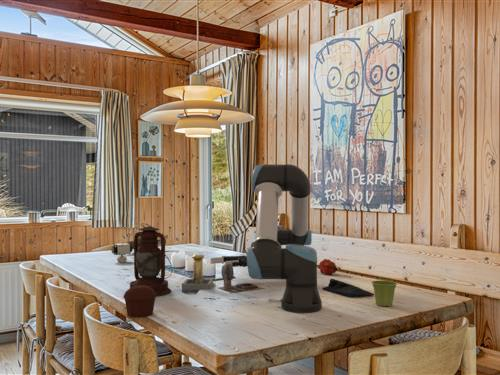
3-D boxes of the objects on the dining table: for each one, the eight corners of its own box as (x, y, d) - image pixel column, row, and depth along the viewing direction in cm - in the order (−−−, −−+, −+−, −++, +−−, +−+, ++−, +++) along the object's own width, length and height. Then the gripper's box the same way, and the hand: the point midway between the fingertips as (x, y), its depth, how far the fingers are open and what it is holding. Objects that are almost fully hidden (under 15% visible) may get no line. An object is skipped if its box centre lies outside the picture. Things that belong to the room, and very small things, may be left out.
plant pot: (377, 301, 195) (377, 279, 195) (400, 304, 189) (400, 282, 189) (367, 305, 187) (367, 282, 187) (390, 309, 181) (390, 285, 181)
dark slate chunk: (345, 300, 198) (345, 288, 198) (320, 289, 219) (320, 278, 219) (377, 297, 203) (377, 285, 203) (350, 287, 224) (350, 276, 224)
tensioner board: (265, 292, 211) (265, 263, 211) (231, 296, 202) (231, 266, 202) (249, 286, 222) (249, 259, 222) (216, 291, 213) (216, 262, 213)
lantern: (180, 290, 214) (180, 222, 214) (150, 299, 198) (150, 225, 198) (147, 286, 223) (147, 220, 224) (116, 294, 207) (116, 223, 207)
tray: (209, 292, 210) (209, 284, 210) (181, 292, 211) (181, 284, 211) (212, 286, 222) (212, 279, 222) (186, 286, 223) (186, 278, 223)
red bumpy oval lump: (320, 275, 261) (335, 282, 251) (311, 267, 256) (326, 273, 246) (328, 261, 263) (344, 268, 252) (320, 253, 258) (335, 259, 248)
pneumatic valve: (111, 262, 295) (111, 242, 295) (129, 260, 302) (129, 241, 302) (114, 263, 291) (114, 243, 291) (133, 261, 297) (133, 242, 297)
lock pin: (202, 288, 214) (203, 256, 214) (191, 288, 214) (191, 256, 214) (204, 286, 219) (204, 254, 219) (193, 285, 219) (193, 254, 219)
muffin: (159, 310, 180) (159, 283, 180) (154, 318, 169) (154, 289, 169) (126, 310, 180) (126, 283, 180) (119, 318, 169) (119, 289, 169)
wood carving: (171, 250, 349) (171, 235, 349) (126, 255, 326) (126, 238, 326) (164, 249, 356) (164, 234, 356) (120, 253, 333) (120, 237, 333)
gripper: (272, 270, 223) (231, 274, 211) (243, 263, 244) (205, 267, 232) (272, 254, 223) (231, 257, 211) (243, 248, 244) (205, 251, 232)
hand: (217, 262), depth 222 cm, fingers open, 13 cm apart
